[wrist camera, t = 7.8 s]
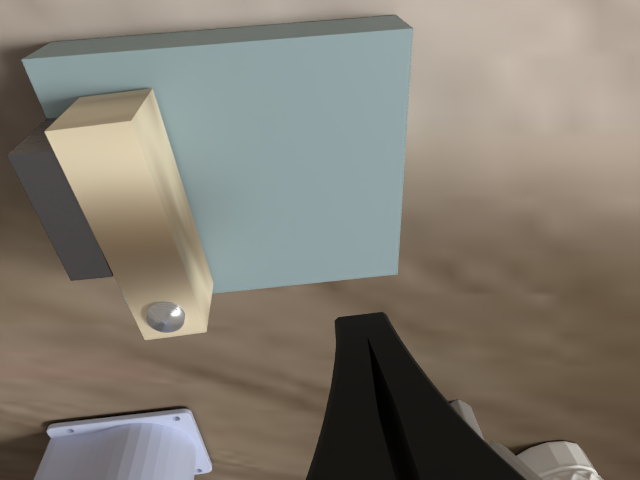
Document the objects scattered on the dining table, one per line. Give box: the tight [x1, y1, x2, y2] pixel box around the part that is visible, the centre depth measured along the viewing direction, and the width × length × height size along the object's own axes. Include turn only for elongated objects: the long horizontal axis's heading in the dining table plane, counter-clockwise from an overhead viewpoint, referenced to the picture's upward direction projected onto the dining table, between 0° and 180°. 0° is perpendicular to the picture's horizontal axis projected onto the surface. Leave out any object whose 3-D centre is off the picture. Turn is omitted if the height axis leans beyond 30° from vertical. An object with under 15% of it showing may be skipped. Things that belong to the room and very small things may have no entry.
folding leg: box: [44, 88, 214, 340], centre depth 17 cm, size 9×2×3 cm, turn 5°
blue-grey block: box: [7, 15, 413, 301], centre depth 18 cm, size 13×11×6 cm
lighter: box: [450, 400, 542, 480], centre depth 30 cm, size 7×2×8 cm, turn 139°
